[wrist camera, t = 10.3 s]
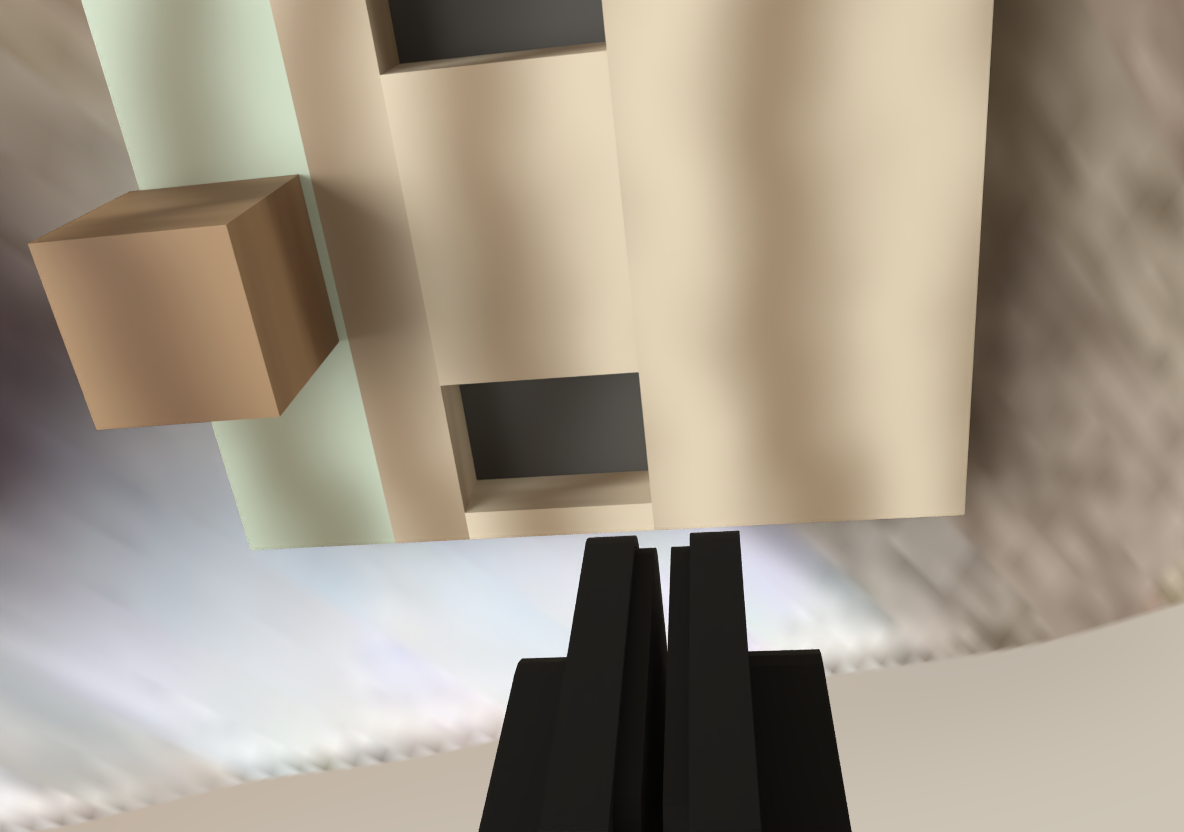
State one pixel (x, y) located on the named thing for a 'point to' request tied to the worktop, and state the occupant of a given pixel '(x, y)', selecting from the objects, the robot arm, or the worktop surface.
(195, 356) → the walnut block
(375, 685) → the worktop surface
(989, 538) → the worktop surface
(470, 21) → the trap deck
